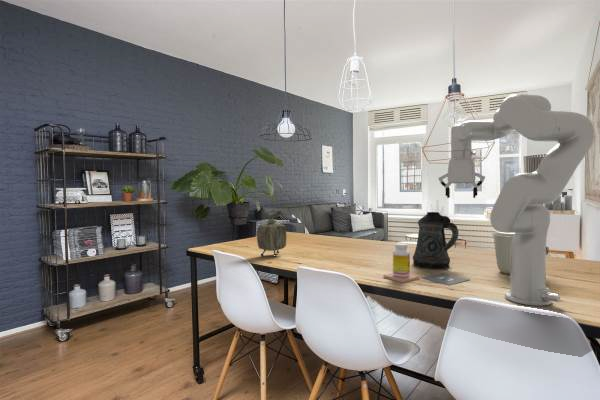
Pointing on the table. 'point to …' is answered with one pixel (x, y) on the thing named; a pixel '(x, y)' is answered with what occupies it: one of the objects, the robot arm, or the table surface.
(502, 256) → the canister
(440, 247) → the beer stein
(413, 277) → the coaster pad
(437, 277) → the tile
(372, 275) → the table surface
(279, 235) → the tabletop clock
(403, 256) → the supplement bottle
